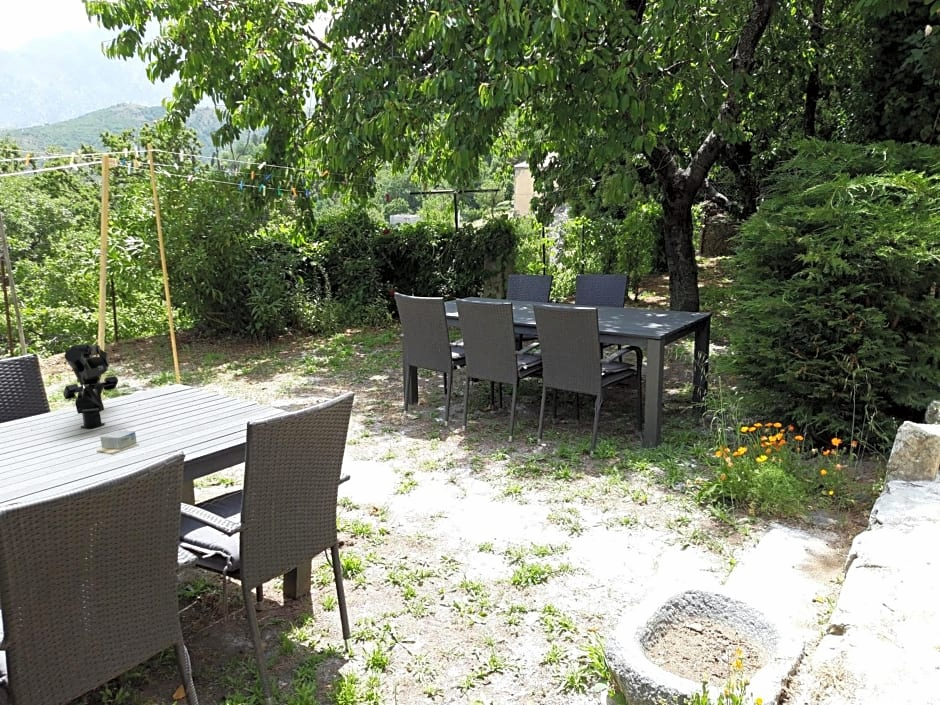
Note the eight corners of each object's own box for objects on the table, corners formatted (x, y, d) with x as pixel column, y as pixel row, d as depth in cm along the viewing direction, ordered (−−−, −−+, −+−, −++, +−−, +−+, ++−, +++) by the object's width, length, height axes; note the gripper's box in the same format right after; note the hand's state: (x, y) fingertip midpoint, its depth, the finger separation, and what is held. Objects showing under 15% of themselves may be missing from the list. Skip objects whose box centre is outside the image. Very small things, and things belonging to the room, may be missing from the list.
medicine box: (101, 448, 250) (120, 450, 247) (99, 436, 249) (118, 438, 246) (118, 441, 257) (137, 443, 254) (117, 429, 256) (135, 431, 253)
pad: (96, 452, 247) (96, 450, 247) (123, 442, 257) (123, 441, 257) (112, 454, 244) (111, 453, 243) (138, 445, 253) (138, 443, 253)
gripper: (61, 365, 257) (78, 398, 253) (112, 355, 271) (129, 387, 267) (56, 382, 264) (72, 415, 259) (106, 372, 278) (123, 403, 274)
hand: (100, 404), depth 265 cm, fingers closed
